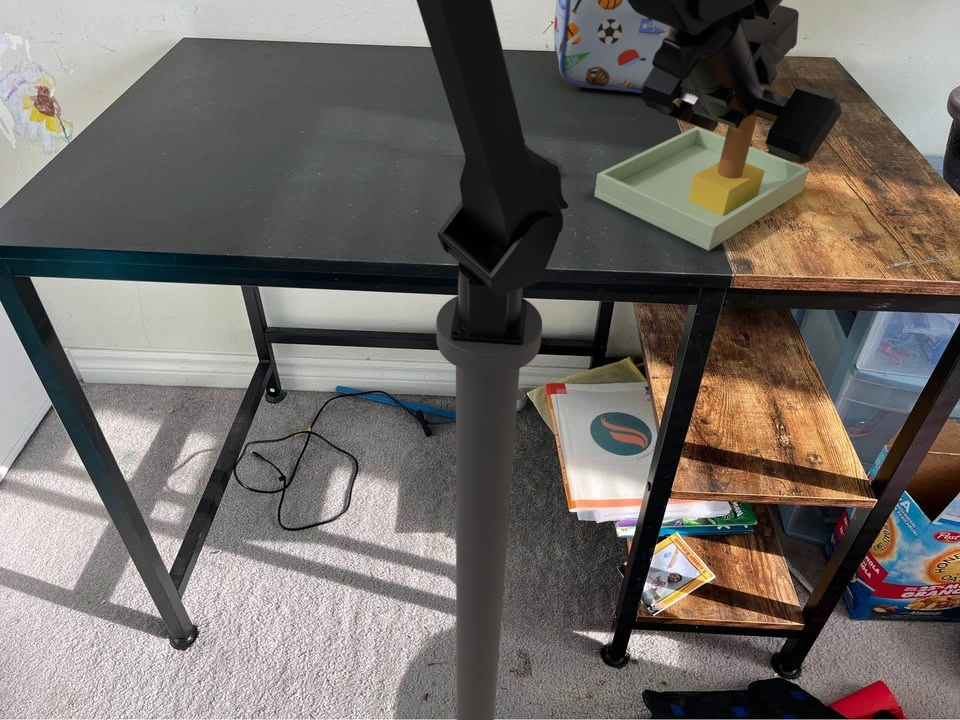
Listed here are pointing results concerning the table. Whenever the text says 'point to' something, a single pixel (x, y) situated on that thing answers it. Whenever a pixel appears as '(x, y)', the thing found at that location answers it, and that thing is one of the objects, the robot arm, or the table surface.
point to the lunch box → (605, 44)
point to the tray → (667, 183)
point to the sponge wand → (729, 173)
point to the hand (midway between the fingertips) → (751, 141)
